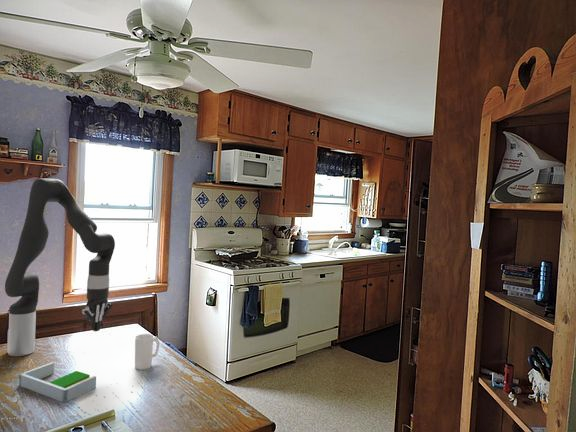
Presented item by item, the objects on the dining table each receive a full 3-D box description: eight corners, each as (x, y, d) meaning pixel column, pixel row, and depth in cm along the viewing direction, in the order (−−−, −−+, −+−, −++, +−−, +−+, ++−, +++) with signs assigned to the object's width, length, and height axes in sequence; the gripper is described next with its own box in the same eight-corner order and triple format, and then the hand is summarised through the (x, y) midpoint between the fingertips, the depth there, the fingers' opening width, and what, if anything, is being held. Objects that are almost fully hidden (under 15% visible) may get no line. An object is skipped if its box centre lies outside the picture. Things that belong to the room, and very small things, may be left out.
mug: (139, 371, 154) (140, 341, 153) (131, 366, 158) (132, 336, 158) (162, 364, 161) (164, 335, 161) (154, 359, 166) (155, 331, 165)
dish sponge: (90, 381, 145) (90, 374, 145) (55, 397, 132) (55, 390, 132) (76, 376, 148) (76, 370, 148) (40, 392, 135) (40, 385, 135)
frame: (19, 385, 138) (19, 374, 138) (51, 372, 149) (52, 362, 149) (64, 402, 129) (64, 390, 128) (95, 387, 140) (96, 376, 139)
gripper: (105, 281, 159) (103, 324, 160) (75, 287, 147) (73, 333, 147) (119, 284, 156) (116, 328, 156) (90, 290, 144) (87, 337, 144)
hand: (95, 330), depth 152 cm, fingers closed
